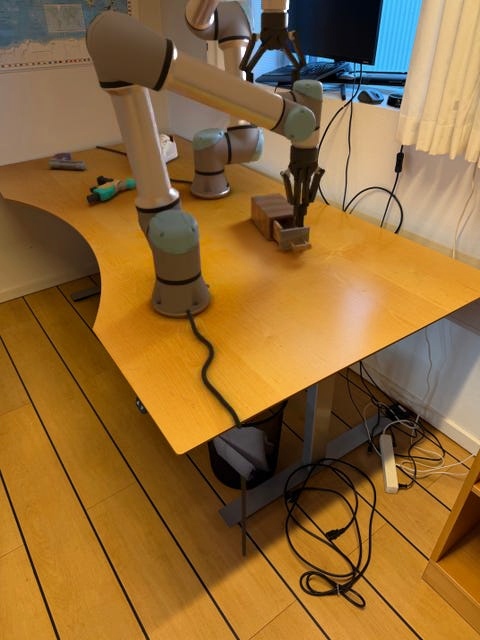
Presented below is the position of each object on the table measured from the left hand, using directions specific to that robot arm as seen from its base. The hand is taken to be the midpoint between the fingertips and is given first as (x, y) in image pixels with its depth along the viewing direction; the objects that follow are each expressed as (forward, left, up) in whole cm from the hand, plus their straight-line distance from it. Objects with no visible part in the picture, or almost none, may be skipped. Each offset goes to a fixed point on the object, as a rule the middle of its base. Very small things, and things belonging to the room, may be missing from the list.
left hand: (299, 225), depth 141 cm
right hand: (+24, +9, +31) cm, 40 cm away
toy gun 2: (+45, +75, -9) cm, 88 cm away
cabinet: (+19, +8, -9) cm, 22 cm away
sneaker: (+83, +62, -9) cm, 104 cm away
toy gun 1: (+79, +101, -9) cm, 129 cm away
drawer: (+7, +3, -8) cm, 11 cm away
